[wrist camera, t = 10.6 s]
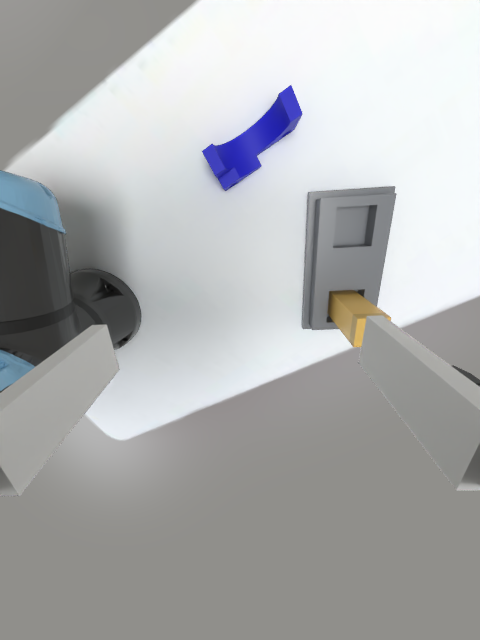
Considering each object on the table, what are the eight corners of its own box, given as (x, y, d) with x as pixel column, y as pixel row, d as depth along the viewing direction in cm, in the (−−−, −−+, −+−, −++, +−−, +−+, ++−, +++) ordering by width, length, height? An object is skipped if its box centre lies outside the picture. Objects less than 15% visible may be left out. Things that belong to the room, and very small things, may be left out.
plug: (326, 312, 43) (353, 347, 32) (328, 290, 41) (357, 318, 30) (350, 311, 42) (385, 346, 31) (353, 289, 41) (391, 317, 30)
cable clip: (225, 191, 37) (221, 187, 31) (209, 161, 35) (201, 151, 30) (298, 141, 34) (307, 127, 29) (284, 106, 33) (290, 84, 27)
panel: (301, 326, 45) (305, 335, 42) (308, 192, 36) (313, 190, 33) (368, 324, 44) (378, 332, 41) (391, 186, 36) (405, 184, 32)
